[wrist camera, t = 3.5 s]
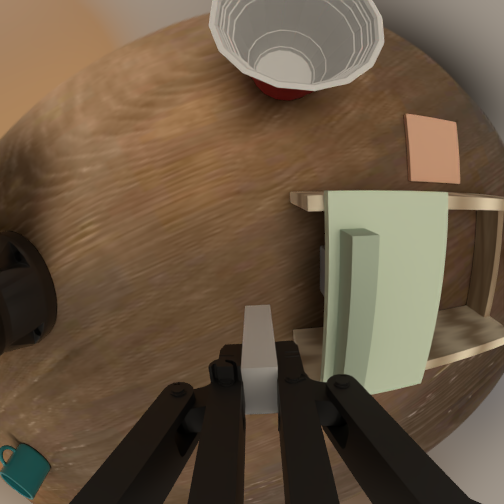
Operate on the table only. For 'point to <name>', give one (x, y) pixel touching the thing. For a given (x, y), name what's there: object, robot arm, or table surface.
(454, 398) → the table surface
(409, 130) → the terracotta coaster
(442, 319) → the wooden box
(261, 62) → the plastic cup
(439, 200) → the cover
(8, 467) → the cup
